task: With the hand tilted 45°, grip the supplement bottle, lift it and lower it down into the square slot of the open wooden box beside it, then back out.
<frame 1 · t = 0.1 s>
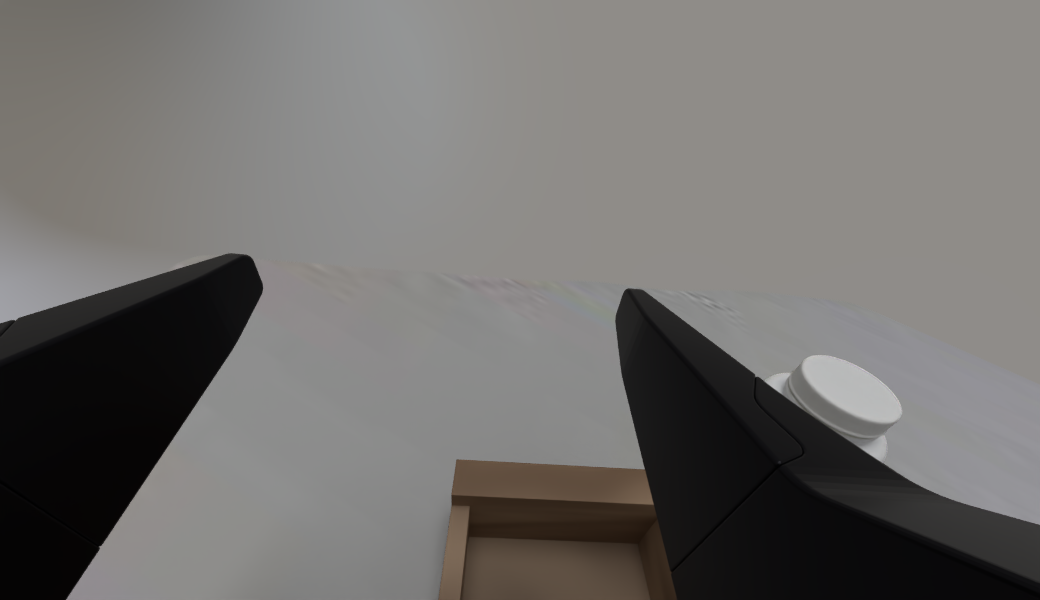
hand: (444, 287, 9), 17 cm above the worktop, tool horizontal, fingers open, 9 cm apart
supplement bottle: (743, 491, 23), on the worktop
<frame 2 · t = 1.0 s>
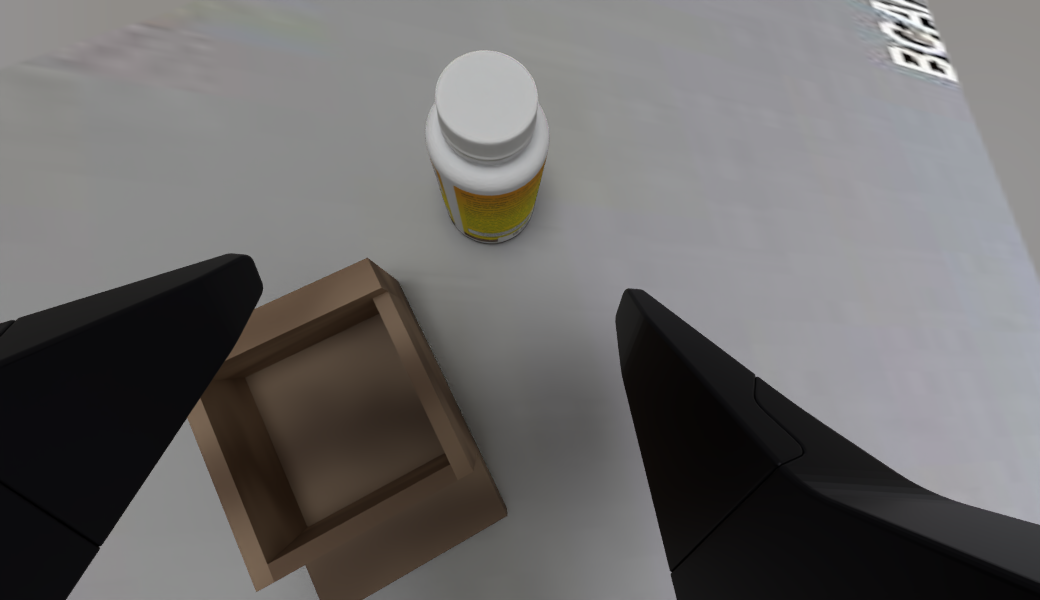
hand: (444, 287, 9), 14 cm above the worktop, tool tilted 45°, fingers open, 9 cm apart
supplement bottle: (490, 206, 24), on the worktop
open wooden box: (358, 409, 21), on the worktop
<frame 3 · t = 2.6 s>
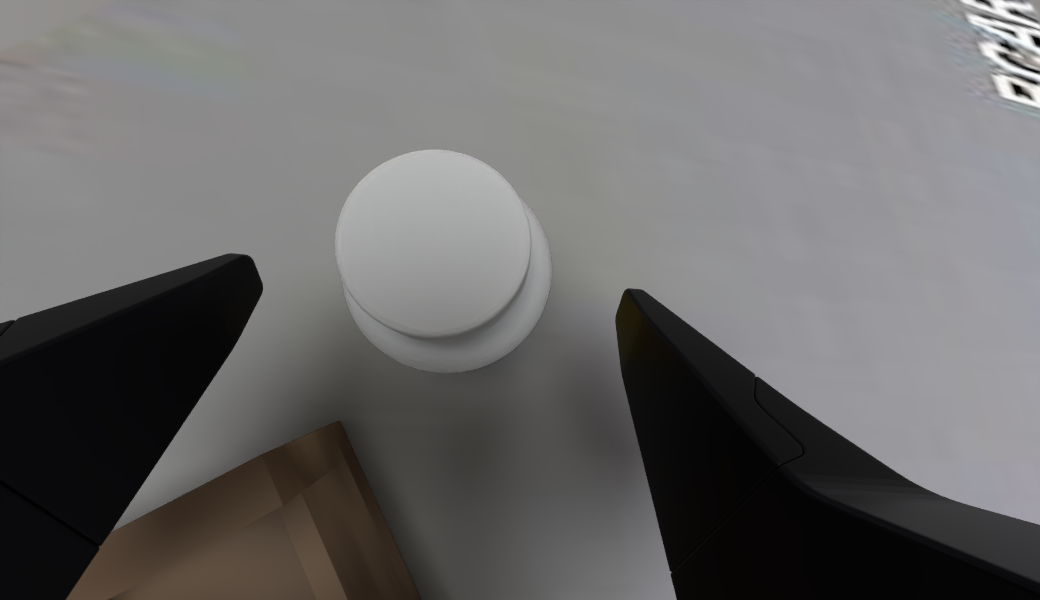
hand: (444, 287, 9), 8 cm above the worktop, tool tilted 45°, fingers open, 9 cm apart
supplement bottle: (469, 305, 18), on the worktop
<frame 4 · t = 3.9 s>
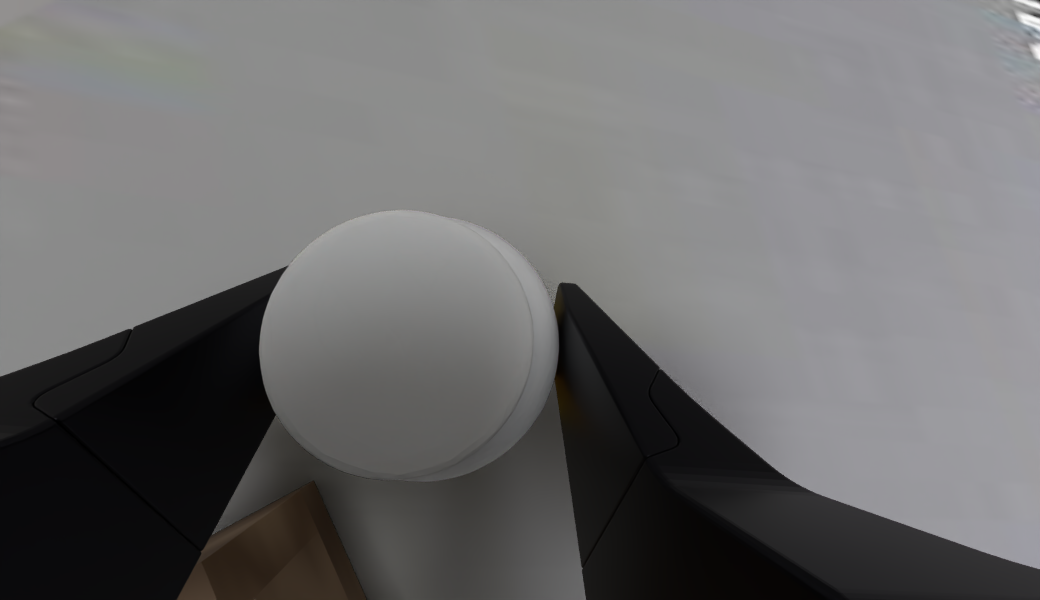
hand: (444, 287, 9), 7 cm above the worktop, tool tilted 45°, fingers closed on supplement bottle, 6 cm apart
supplement bottle: (462, 346, 16), on the worktop, touching gripper
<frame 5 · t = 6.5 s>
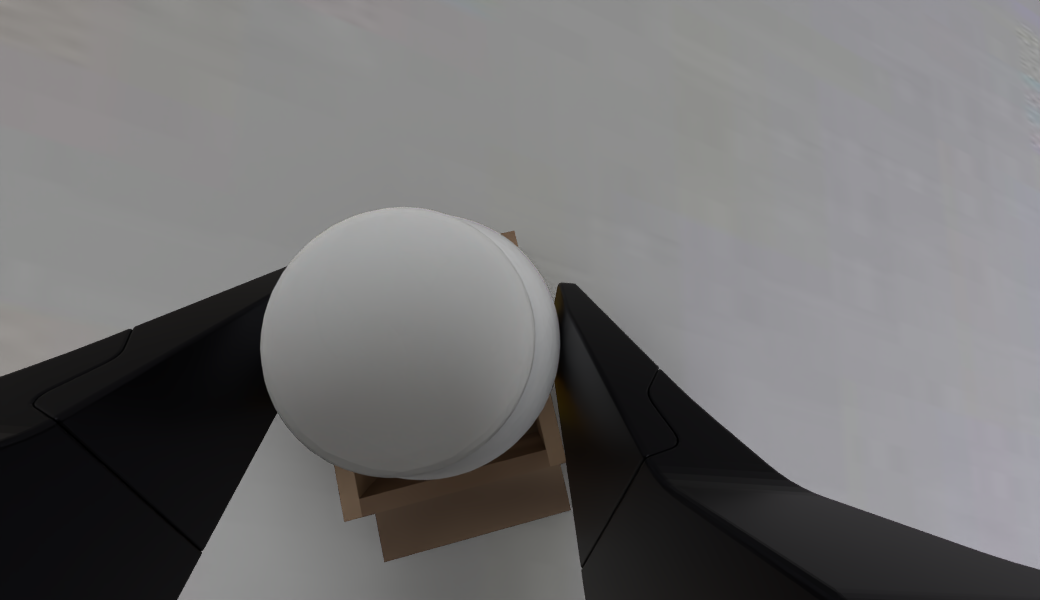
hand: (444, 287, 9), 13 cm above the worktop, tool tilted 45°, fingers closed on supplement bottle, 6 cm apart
supplement bottle: (463, 345, 16), point 7 cm above the worktop, touching gripper
open wooden box: (447, 371, 22), on the worktop
when the fingers open (9 cm above the worktop, at t = 8.7 s): supplement bottle drops 1 cm, resting on open wooden box.
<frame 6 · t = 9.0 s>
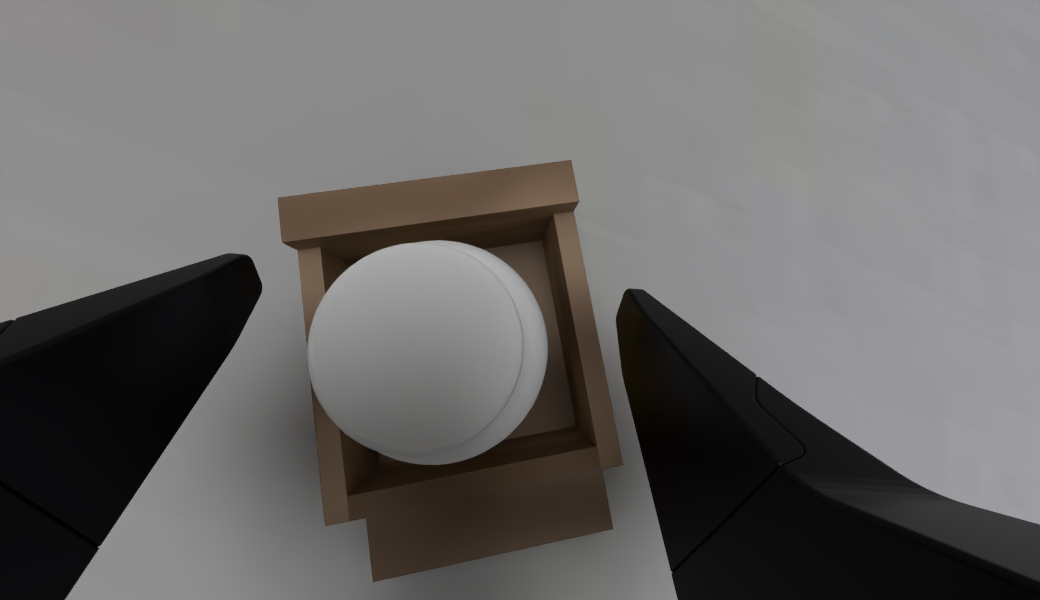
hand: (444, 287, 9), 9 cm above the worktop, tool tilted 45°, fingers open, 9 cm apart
supplement bottle: (464, 350, 17), point 1 cm above the worktop, touching open wooden box
open wooden box: (466, 346, 18), on the worktop
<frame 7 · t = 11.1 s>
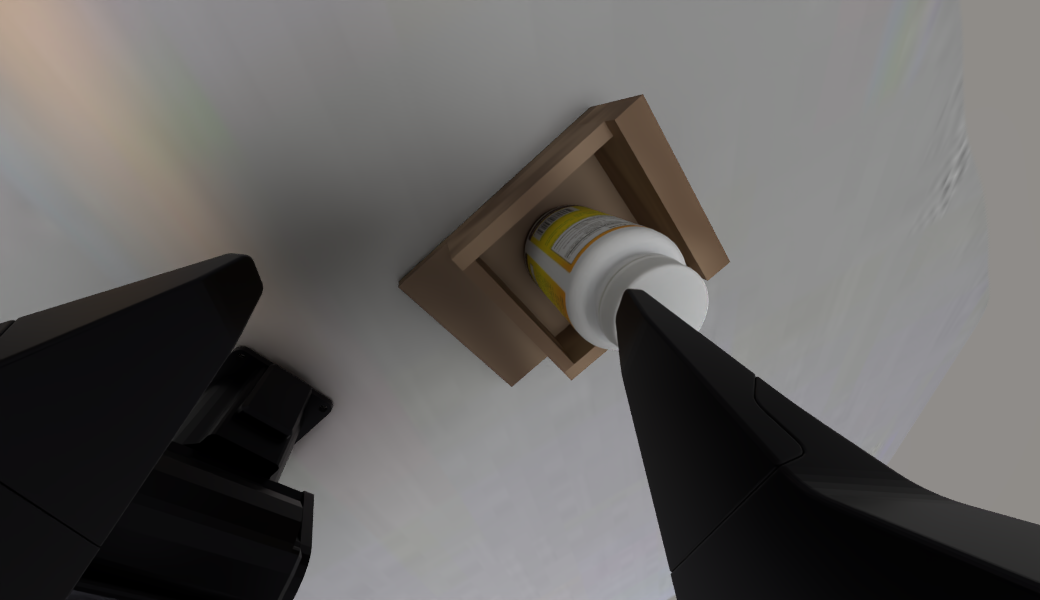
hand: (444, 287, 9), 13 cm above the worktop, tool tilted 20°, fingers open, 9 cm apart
supplement bottle: (564, 247, 23), point 1 cm above the worktop, touching open wooden box
open wooden box: (562, 243, 24), on the worktop
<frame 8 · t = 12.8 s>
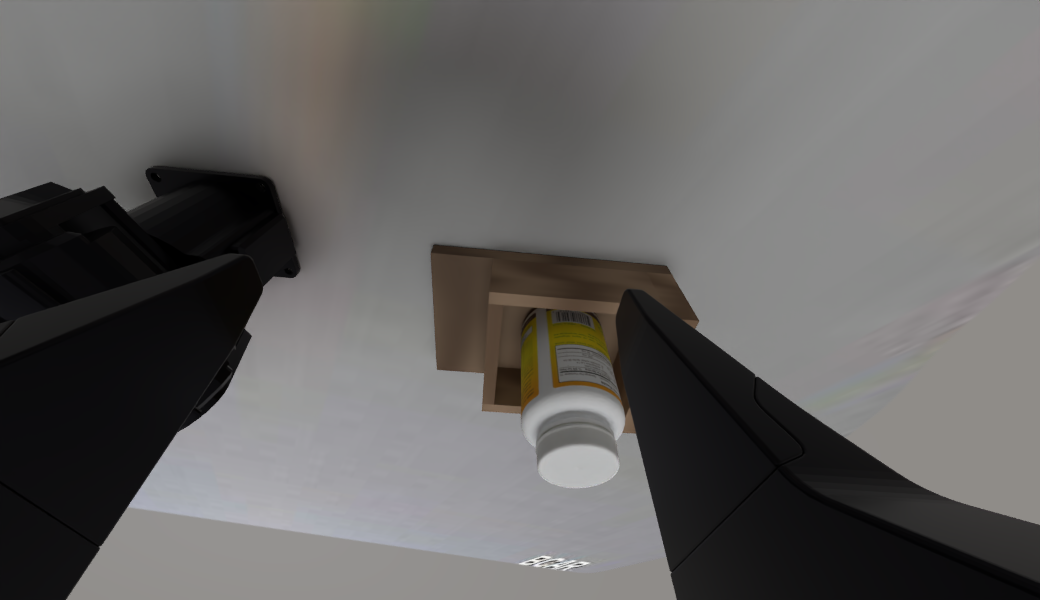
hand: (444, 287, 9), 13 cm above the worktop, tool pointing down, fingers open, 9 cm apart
supplement bottle: (560, 326, 26), point 1 cm above the worktop, touching open wooden box
open wooden box: (561, 319, 27), on the worktop
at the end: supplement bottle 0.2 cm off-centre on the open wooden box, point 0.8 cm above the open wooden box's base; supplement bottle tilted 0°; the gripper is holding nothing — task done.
